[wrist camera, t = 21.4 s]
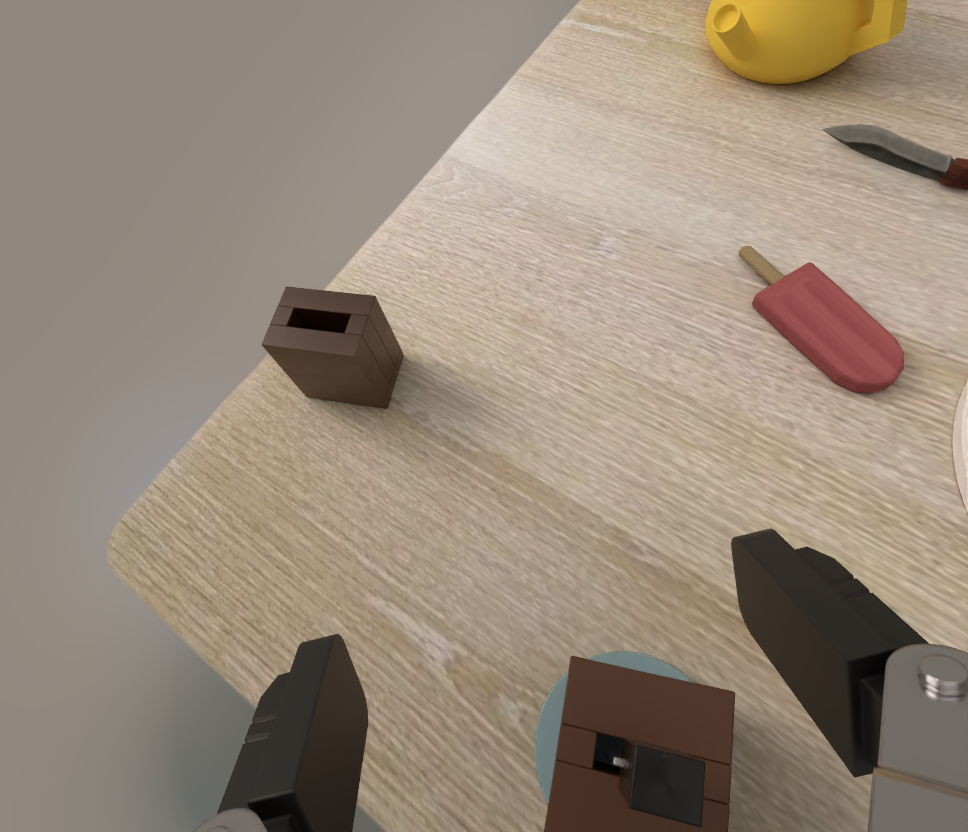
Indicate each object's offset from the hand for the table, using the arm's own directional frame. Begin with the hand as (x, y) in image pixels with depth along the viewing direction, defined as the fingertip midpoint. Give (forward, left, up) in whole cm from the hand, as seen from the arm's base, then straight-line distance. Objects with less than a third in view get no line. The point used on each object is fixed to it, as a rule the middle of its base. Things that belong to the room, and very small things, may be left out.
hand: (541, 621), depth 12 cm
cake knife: (-3, -4, -28) cm, 29 cm away
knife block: (+19, +20, -29) cm, 40 cm away
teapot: (+59, -10, -29) cm, 67 cm away
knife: (+44, -23, -29) cm, 58 cm away
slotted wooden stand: (-3, -4, -29) cm, 30 cm away
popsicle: (+29, -14, -29) cm, 43 cm away
